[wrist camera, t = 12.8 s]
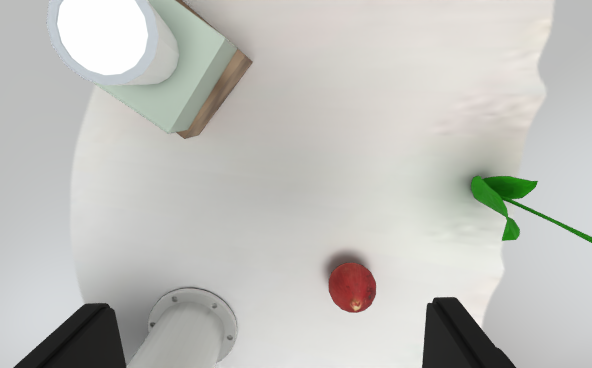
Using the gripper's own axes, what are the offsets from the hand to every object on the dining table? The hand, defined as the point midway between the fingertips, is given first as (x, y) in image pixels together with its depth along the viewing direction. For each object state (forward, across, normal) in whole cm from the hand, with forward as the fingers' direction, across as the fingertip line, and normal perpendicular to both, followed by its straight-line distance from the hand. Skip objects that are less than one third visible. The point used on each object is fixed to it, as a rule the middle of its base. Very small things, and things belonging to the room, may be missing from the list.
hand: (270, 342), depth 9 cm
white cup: (+21, +12, -12) cm, 27 cm away
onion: (+31, -6, +15) cm, 35 cm away
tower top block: (+26, +12, -12) cm, 31 cm away
